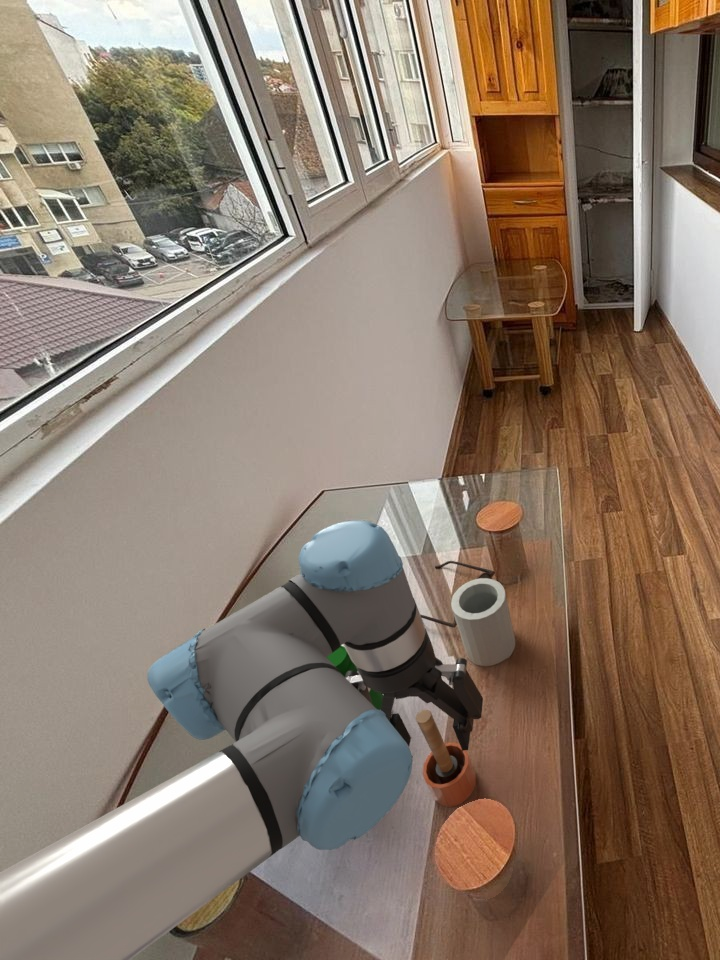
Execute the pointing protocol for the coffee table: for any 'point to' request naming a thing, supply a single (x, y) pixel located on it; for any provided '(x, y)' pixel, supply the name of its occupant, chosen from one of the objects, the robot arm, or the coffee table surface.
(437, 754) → the brush
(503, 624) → the cup
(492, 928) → the coffee table surface
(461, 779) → the holder
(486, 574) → the eyeglasses
